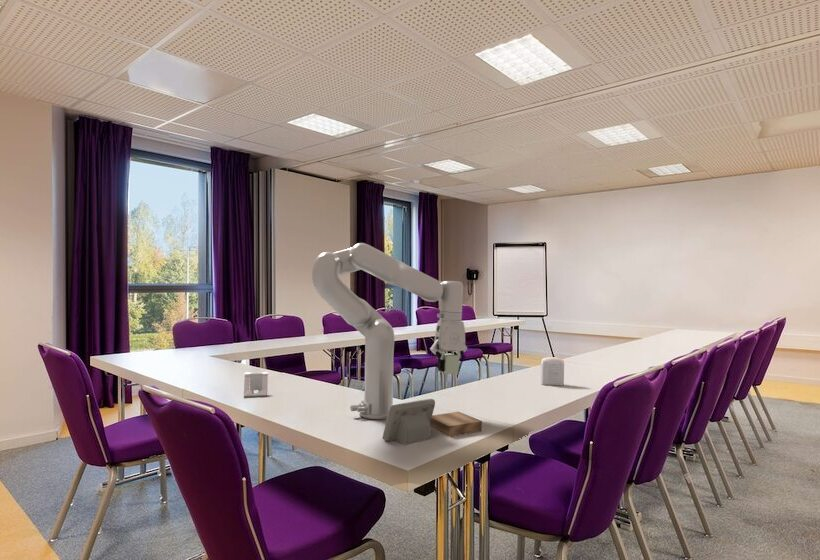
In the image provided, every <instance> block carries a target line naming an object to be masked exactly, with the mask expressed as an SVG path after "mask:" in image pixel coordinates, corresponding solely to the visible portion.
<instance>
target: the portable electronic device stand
mask: <svg viewBox="0 0 820 560" xmlns="http://www.w3.org/2000/svg"><path fill="white" fill-rule="evenodd" d="M268 376H269V372H268V371H265V372H262V371H261V372H244V382H243V383H244V384H243V398H252V397H253V398H254V397H255V398H256V397H268V383H269V382H268V380H269V377H268ZM254 391H258V392H254Z"/></svg>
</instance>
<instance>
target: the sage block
mask: <svg viewBox="0 0 820 560" xmlns="http://www.w3.org/2000/svg"><path fill="white" fill-rule="evenodd" d="M444 360H445V370H444V372H442V371H439V370H438V369H437V372H438V373H440V374H441V373H442V374H445V375H453V374H459V367H460V359H459V356H458V355H455V354H453V353H445V356H444Z"/></svg>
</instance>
